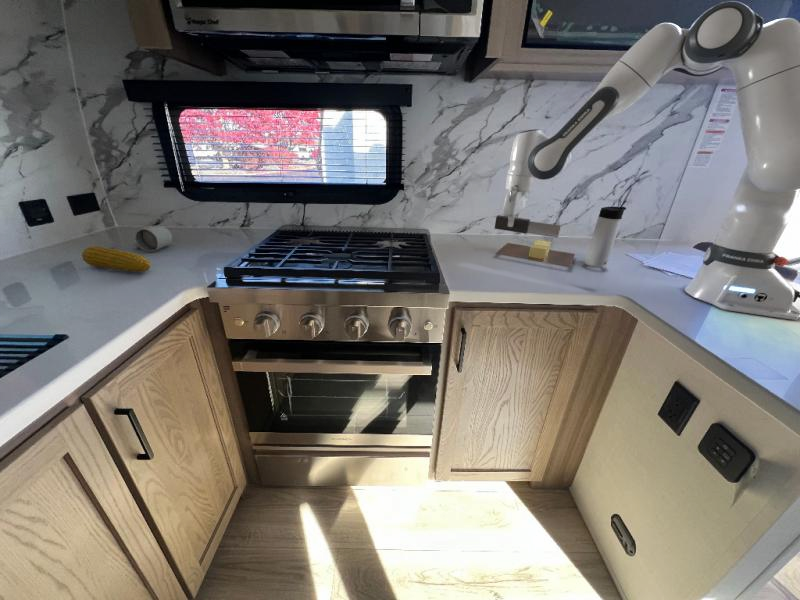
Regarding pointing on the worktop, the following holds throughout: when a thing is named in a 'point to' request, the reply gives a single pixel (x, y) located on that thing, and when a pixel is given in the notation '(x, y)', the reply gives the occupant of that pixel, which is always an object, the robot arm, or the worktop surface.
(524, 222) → the knife
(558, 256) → the cutting board
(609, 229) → the travel mug
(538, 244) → the butter block
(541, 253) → the butter slice
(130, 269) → the food
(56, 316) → the worktop surface
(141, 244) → the ceramic mug
